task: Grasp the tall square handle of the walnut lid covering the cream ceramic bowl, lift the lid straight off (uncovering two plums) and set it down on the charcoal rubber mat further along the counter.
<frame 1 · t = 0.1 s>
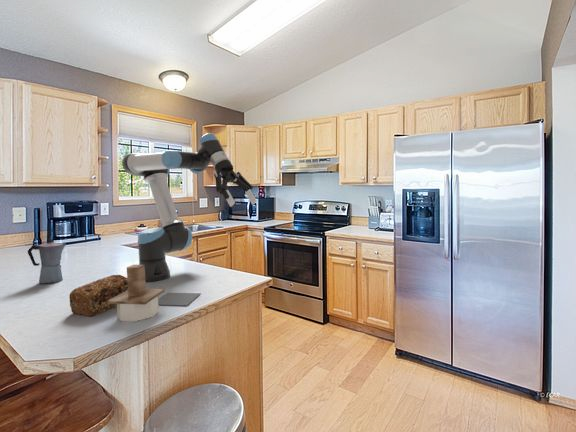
hand: (244, 203, 135), 36 cm above the counter, tool tilted 35°, fingers open, 13 cm apart
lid: (137, 296, 109), point 6 cm above the counter, touching bowl
moka pot: (50, 282, 149), on the counter
bread: (104, 307, 117), on the counter
bowl: (138, 313, 110), on the counter
mat: (176, 299, 123), on the counter
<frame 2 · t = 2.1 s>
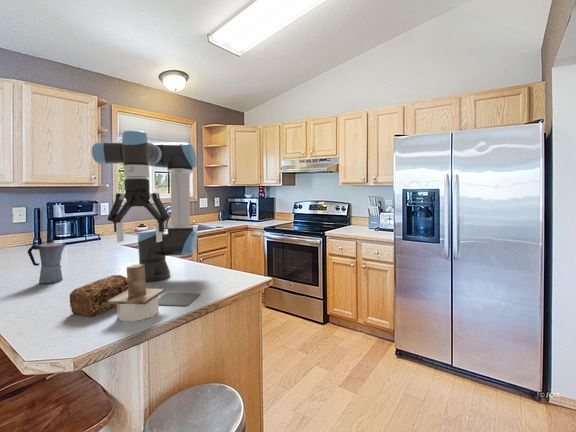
hand: (139, 241, 108), 25 cm above the counter, tool pointing down, fingers open, 13 cm apart
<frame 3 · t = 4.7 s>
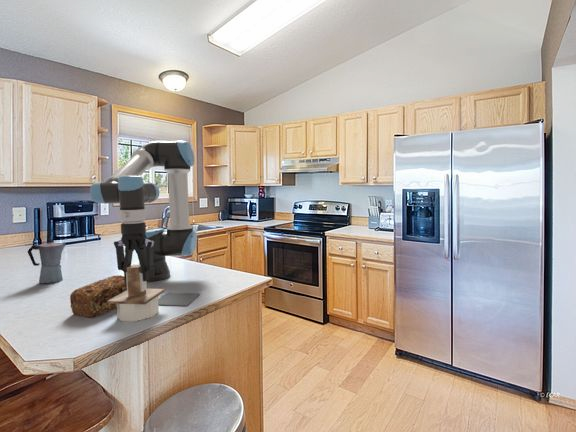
hand: (137, 290, 109), 8 cm above the counter, tool pointing down, fingers closed on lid, 4 cm apart
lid: (137, 296, 109), point 6 cm above the counter, touching gripper
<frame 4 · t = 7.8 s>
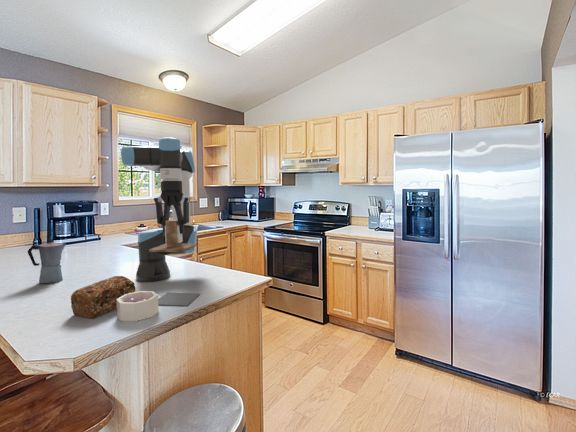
hand: (174, 242, 121), 23 cm above the counter, tool pointing down, fingers closed on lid, 4 cm apart
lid: (174, 248, 121), point 20 cm above the counter, touching gripper
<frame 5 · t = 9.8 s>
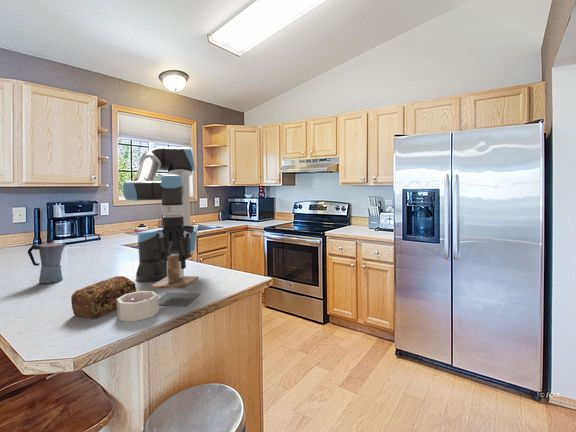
hand: (175, 276, 122), 9 cm above the counter, tool pointing down, fingers closed on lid, 4 cm apart
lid: (175, 282, 122), point 7 cm above the counter, touching gripper
when the fingers open (4 cm above the counter, at t = 11.2 s): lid drops 1 cm, resting on mat.
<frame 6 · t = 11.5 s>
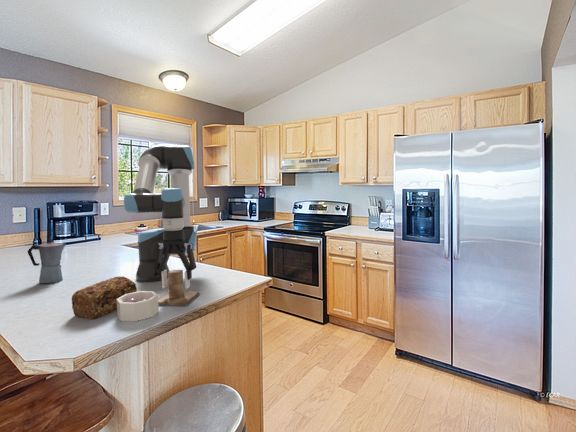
hand: (176, 287, 123), 5 cm above the counter, tool pointing down, fingers open, 8 cm apart
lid: (176, 298, 123), resting on mat
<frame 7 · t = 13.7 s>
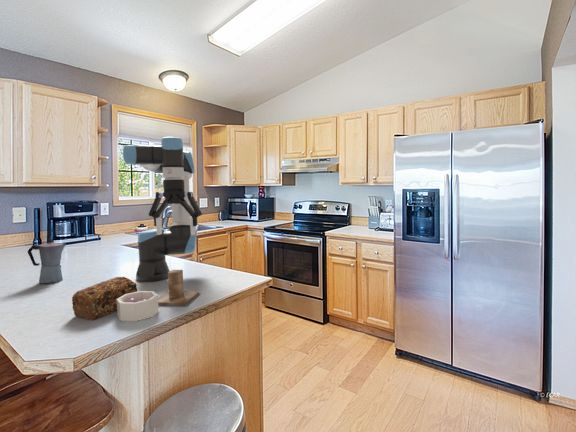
hand: (176, 234, 123), 25 cm above the counter, tool pointing down, fingers open, 13 cm apart
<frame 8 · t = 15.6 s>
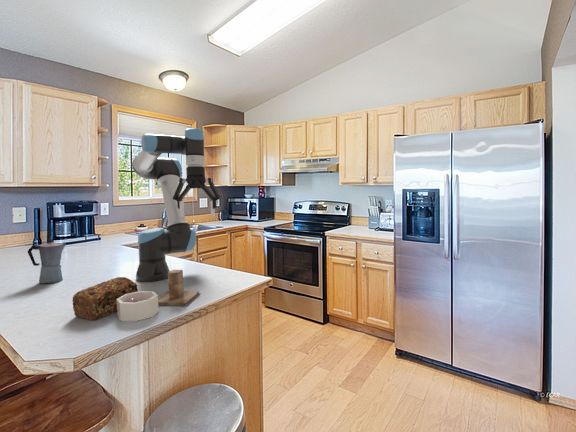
hand: (197, 216, 136), 31 cm above the counter, tool pointing down, fingers open, 13 cm apart
at the end: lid inside the target area on the mat (0.0 cm from its centre), point 0.4 cm above the mat's base; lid tilted 0°; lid touching mat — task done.
